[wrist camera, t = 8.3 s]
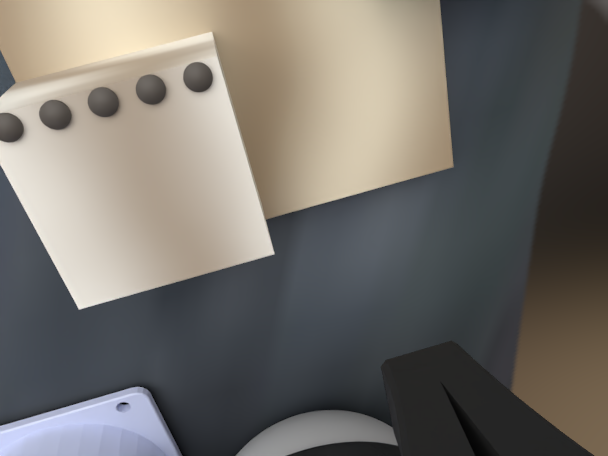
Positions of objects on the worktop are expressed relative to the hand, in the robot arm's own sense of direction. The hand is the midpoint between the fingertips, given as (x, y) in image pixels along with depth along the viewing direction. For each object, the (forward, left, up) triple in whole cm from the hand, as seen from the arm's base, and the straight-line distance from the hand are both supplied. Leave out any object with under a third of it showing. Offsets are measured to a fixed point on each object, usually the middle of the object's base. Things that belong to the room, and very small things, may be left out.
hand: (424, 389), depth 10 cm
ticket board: (-2, +6, -9) cm, 12 cm away
